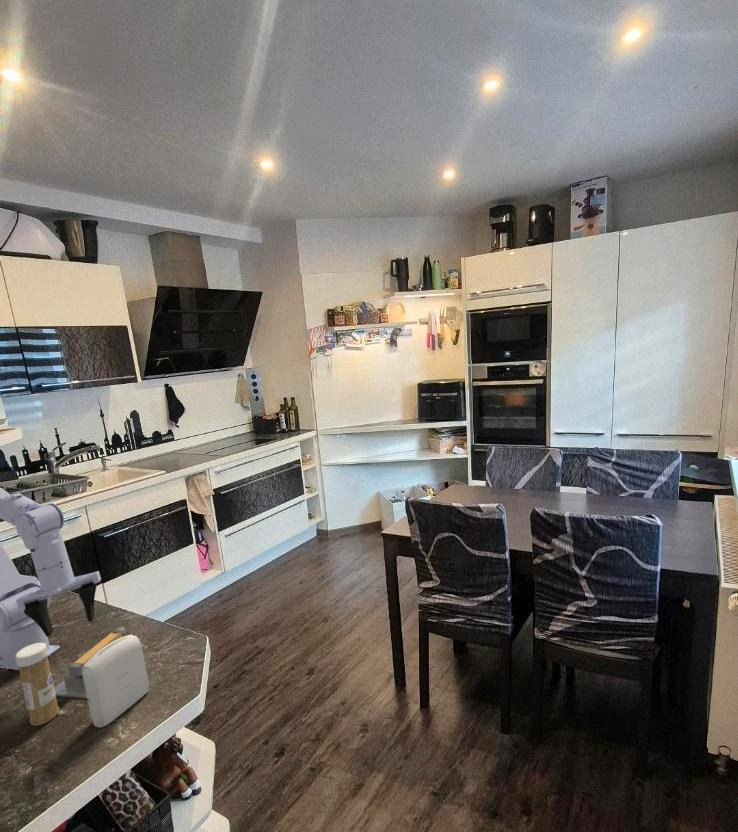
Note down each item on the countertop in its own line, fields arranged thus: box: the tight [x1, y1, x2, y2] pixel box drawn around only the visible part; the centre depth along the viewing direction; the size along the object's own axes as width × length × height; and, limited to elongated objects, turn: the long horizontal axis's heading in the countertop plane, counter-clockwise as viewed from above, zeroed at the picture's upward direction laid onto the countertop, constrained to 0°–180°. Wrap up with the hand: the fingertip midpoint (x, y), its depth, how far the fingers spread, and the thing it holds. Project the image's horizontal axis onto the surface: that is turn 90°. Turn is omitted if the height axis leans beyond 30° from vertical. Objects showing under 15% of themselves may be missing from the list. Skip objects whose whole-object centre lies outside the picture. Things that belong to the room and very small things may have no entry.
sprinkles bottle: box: [15, 643, 60, 727], centre depth 83 cm, size 5×5×13 cm
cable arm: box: [67, 626, 127, 677], centre depth 96 cm, size 13×2×2 cm, turn 168°
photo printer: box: [82, 634, 150, 728], centre depth 83 cm, size 10×4×12 cm, turn 154°
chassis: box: [54, 644, 145, 699], centre depth 96 cm, size 10×16×3 cm, turn 168°
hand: (71, 626), depth 94 cm, fingers open, 7 cm apart
